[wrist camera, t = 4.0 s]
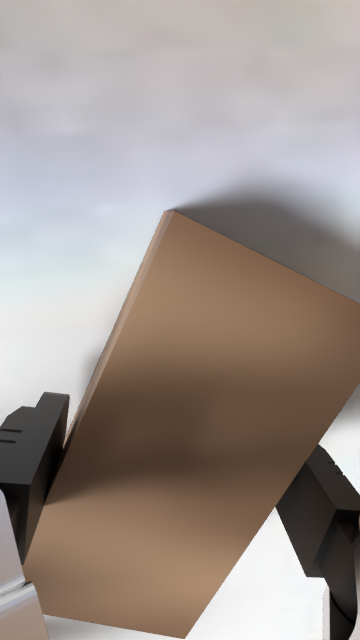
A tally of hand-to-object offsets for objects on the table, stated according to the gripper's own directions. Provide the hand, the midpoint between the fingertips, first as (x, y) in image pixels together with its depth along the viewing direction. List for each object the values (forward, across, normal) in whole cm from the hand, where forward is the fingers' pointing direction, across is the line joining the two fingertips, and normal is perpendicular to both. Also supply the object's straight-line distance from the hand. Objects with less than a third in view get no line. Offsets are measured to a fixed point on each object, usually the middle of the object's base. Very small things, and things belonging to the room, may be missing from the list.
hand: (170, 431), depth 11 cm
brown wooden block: (+1, 0, 0) cm, 1 cm away
